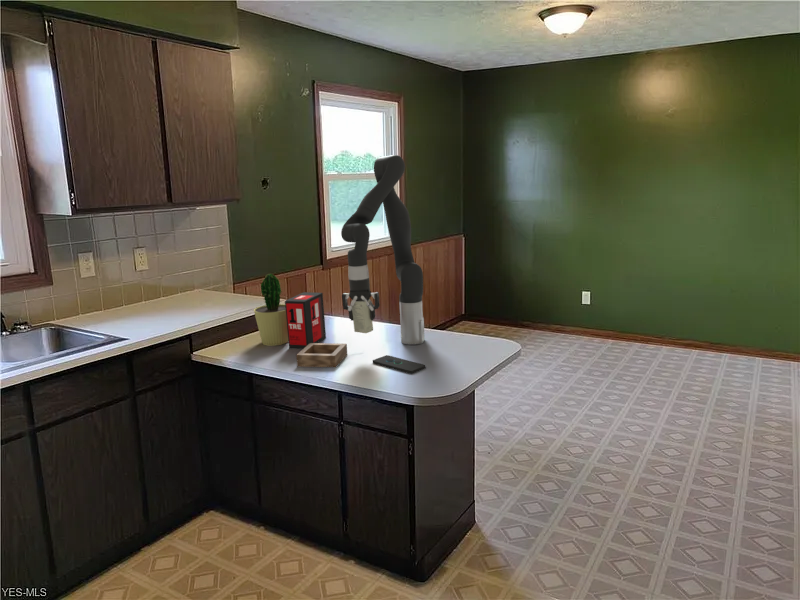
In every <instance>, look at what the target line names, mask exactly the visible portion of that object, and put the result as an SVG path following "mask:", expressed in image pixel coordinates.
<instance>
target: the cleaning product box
mask: <svg viewBox="0 0 800 600" xmlns="http://www.w3.org/2000/svg"><path fill="white" fill-rule="evenodd" d="M323 294H324V293H323V292H311V291H310V292H307V291H306V292H301V293H299V294H296V295H295V296H293V297H290V298H288V299H286V300H284V304H285V309H286V320H287V331H288V342H287V343H288V348H289V349H294V350H295V349H296V350H303V349H304V348H305V347H306V346H307V345H308V344H310V343H321V342H323V340H325V339H327V333H326V319H325V318H326V317H325V306H324V295H323Z"/></svg>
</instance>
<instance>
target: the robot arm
mask: <svg viewBox="0 0 800 600" xmlns="http://www.w3.org/2000/svg"><path fill="white" fill-rule="evenodd" d="M405 170H406V165H405V161H404V159H403V158H402V157H401V156H400V155H398V154H391V155H386V156H385V155H384V156H380V157H377V158H376V159H375V161H374V163H373V172H374V177H375V180H376V185H375V186H373V187H372V188H371V189H370V190H369V191H368V192H367V193H366V195H365V196H363V198H362V200H361V201H360V203H359V205H358V207H357V208H356V211H355V212H353V214H352V215H351V216H350V217H349V218H348V219H347V220H346V221H345V222H344V224H343V225H342V227H341V233H340V234H341V238H342V239H343V241H344V242H346V243H354V248H351V249H349V250H348V251H347V263H348V264H347V265H348V269H347V270H348V271H347V272H348V273H347V274H348V276H347V277H348V282H349V283H348V285H349V292H348V293H346V292H344V293H342V295H341V301H342V309H343V310H344V311H345V310H346V311H348V318H349V320H350V321H353V314H352V308H353V306H354V304H355V302H356V301H366V304H367V306H368V307H369V308H370V310H371V311H370V314H371V320H372V321H374V319H376V310H377V309H379V307H380V305H381V304H380V292H379V291H376V292H372V291H371V286H370V285H371V284H370V273H369V272H370V271H369V266H368V256H367V253H368V247H369V241H370V236H371V235H370V229H369V227H368V224H371V223H373V222H372V221H374V219H375V218H376V215H377V213H378V211H379V210H380V207H381V206H383V210H384V214H385V221H386V225H387V230H388V231H387V232H388V234H389V238H390V243H391V246H392V249H393V255H394V265H395V266H394V267H395V273H396V277H397V279H398V280H399V281H400V293H399V297H398V298H399V300H398V301H399V314H400V315H399V320H400V323H399V324H400V340H401V342H400V343H402V344H404V345H419V344H423V343H424V341H425V339H426V338H425V318H424V315H423V295H424V272H423V269H422V267H421V266H420V265H419V264H418V263H416V262H415V260H414V256H413V251H412V245H411V244H412V224H411V217H410V213H409V209H408V208H407V207H406V205H405V203H404V202H403V201H402V200H401V198H400V197H399V196H398V194H397V192H396V189H395V185H397V183H398V182H399V181H400V180H401V178H402V177H403V175H404V173H405ZM349 297H350V299H351V301H352V302H351V301H350V304H349V303H348V300H349ZM371 297H372V298H373V300H374V304H373V302H372V300H371ZM368 300H370V302H368Z"/></svg>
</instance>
